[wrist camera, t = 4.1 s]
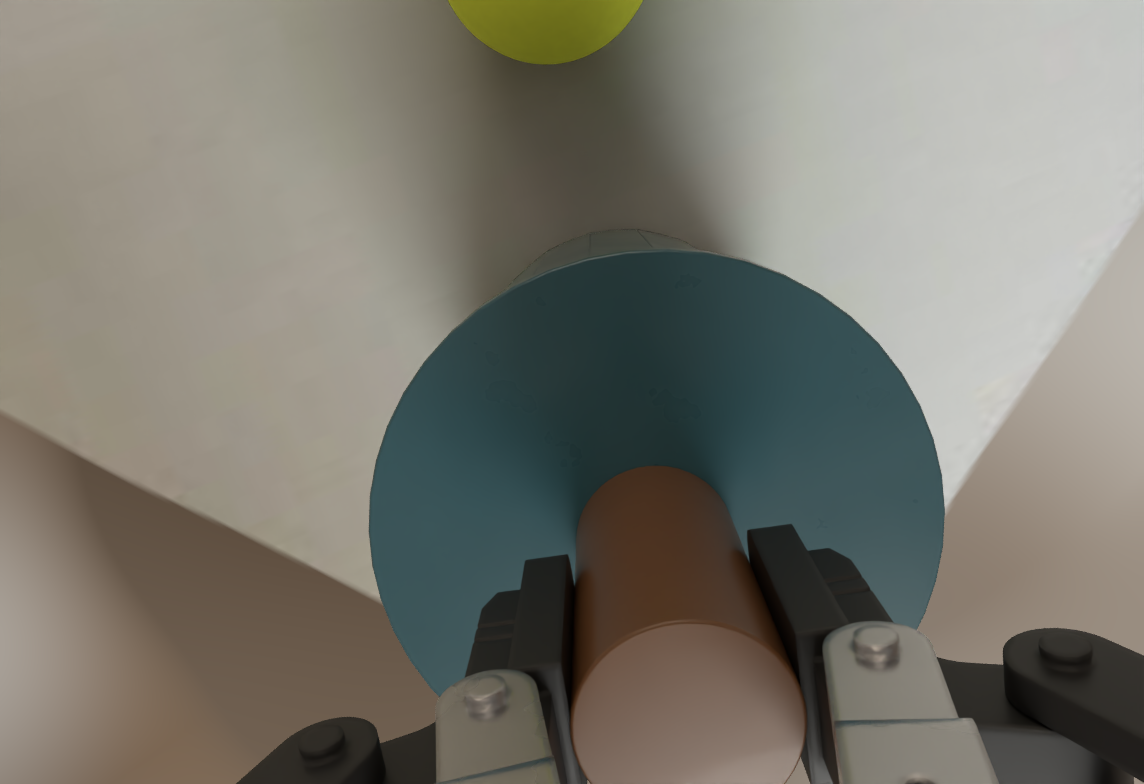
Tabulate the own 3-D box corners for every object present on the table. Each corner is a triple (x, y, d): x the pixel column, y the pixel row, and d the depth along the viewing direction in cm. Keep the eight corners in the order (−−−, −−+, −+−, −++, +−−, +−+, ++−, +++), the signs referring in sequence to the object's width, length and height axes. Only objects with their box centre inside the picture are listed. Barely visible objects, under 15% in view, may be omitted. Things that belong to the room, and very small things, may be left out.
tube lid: (557, 131, 16) (534, 99, 9) (1037, 431, 18) (1327, 597, 11) (288, 599, 19) (112, 846, 12) (727, 836, 20) (800, 1187, 13)
